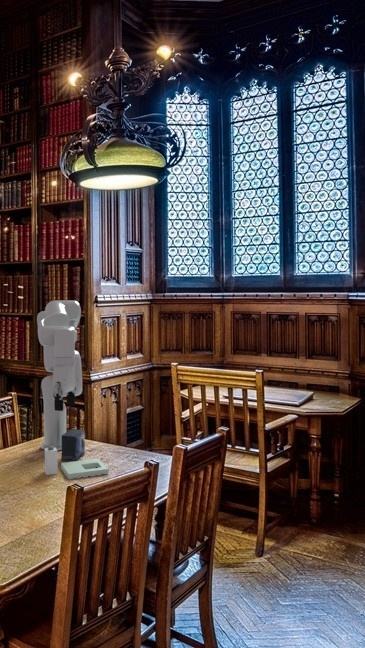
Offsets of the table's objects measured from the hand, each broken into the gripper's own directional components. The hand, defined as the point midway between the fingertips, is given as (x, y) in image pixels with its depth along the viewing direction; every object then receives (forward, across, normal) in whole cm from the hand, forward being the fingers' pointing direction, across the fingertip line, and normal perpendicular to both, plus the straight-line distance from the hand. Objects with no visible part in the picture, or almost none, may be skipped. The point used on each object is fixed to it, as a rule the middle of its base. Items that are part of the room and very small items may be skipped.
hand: (65, 407), depth 204 cm
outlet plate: (+26, -7, +4) cm, 27 cm away
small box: (+26, -22, -8) cm, 35 cm away
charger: (+26, -2, -7) cm, 27 cm away
